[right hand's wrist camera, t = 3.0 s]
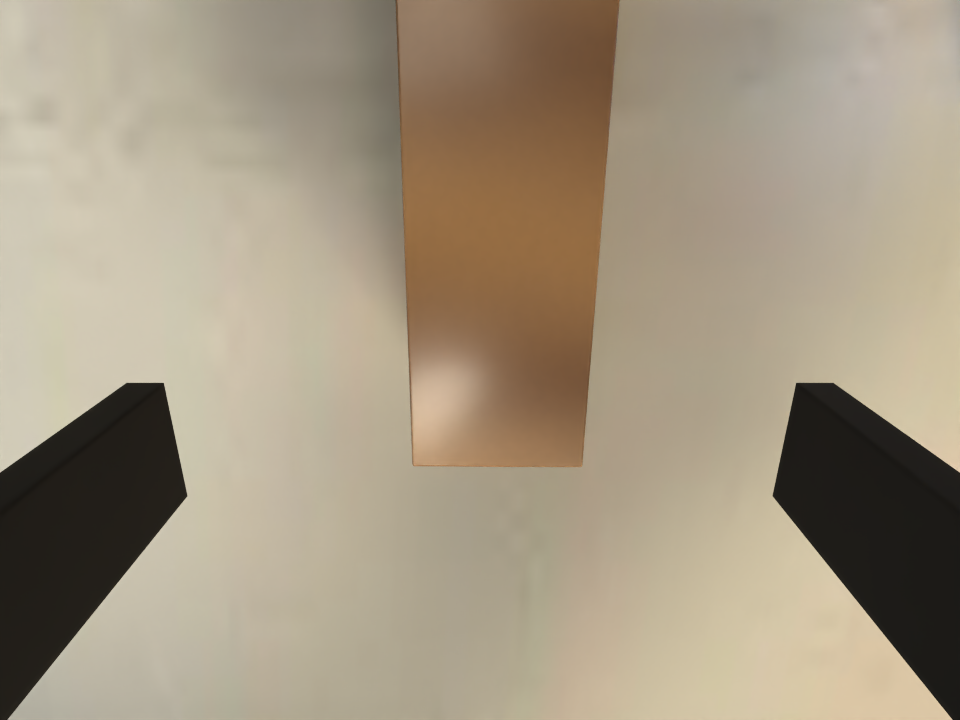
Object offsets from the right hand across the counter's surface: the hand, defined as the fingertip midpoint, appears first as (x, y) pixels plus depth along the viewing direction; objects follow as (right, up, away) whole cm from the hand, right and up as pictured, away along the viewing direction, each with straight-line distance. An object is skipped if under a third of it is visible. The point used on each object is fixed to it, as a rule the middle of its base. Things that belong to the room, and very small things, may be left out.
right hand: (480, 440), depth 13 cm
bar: (+1, +29, +3) cm, 29 cm away
